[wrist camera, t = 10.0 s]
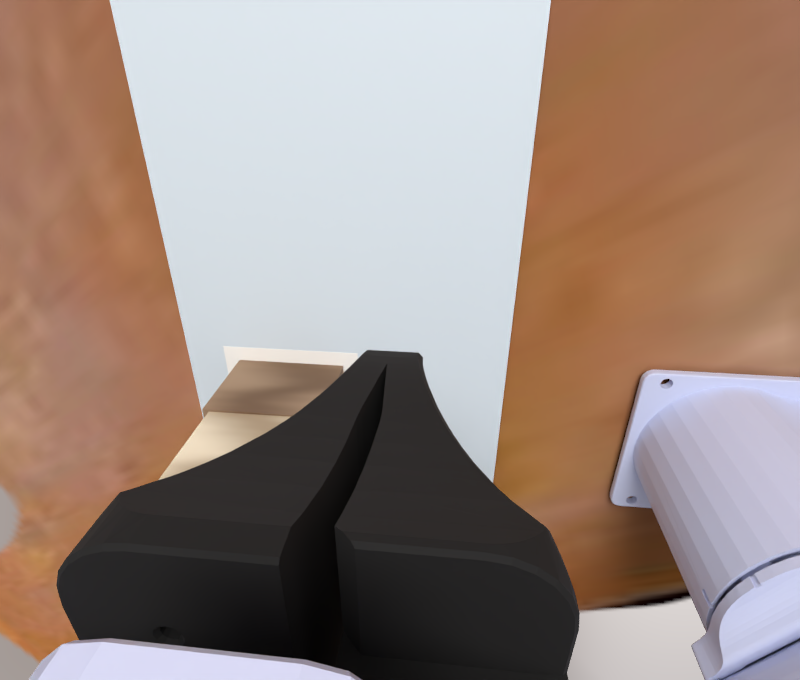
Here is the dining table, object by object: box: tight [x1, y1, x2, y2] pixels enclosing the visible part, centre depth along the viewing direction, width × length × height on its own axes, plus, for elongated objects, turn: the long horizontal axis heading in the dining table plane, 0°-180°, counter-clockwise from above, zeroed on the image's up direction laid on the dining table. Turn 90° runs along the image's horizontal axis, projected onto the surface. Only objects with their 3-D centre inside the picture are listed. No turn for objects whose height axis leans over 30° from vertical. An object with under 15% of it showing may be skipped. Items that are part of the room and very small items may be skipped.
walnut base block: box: [202, 360, 344, 417], centre depth 23 cm, size 5×5×4 cm
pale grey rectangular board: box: [110, 0, 551, 483], centre depth 22 cm, size 15×22×1 cm
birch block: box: [159, 412, 290, 480], centre depth 19 cm, size 4×4×5 cm
